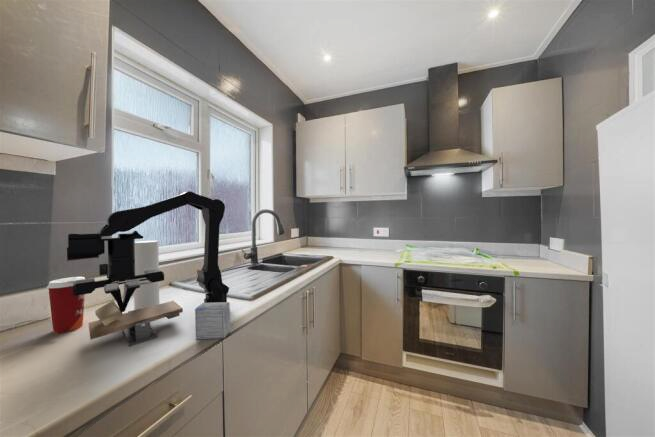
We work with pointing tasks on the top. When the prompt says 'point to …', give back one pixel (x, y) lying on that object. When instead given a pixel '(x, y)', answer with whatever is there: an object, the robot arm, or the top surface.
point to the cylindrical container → (144, 262)
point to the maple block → (108, 313)
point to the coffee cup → (65, 305)
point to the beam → (135, 319)
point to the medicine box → (212, 320)
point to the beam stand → (139, 333)
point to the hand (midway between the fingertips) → (122, 311)
